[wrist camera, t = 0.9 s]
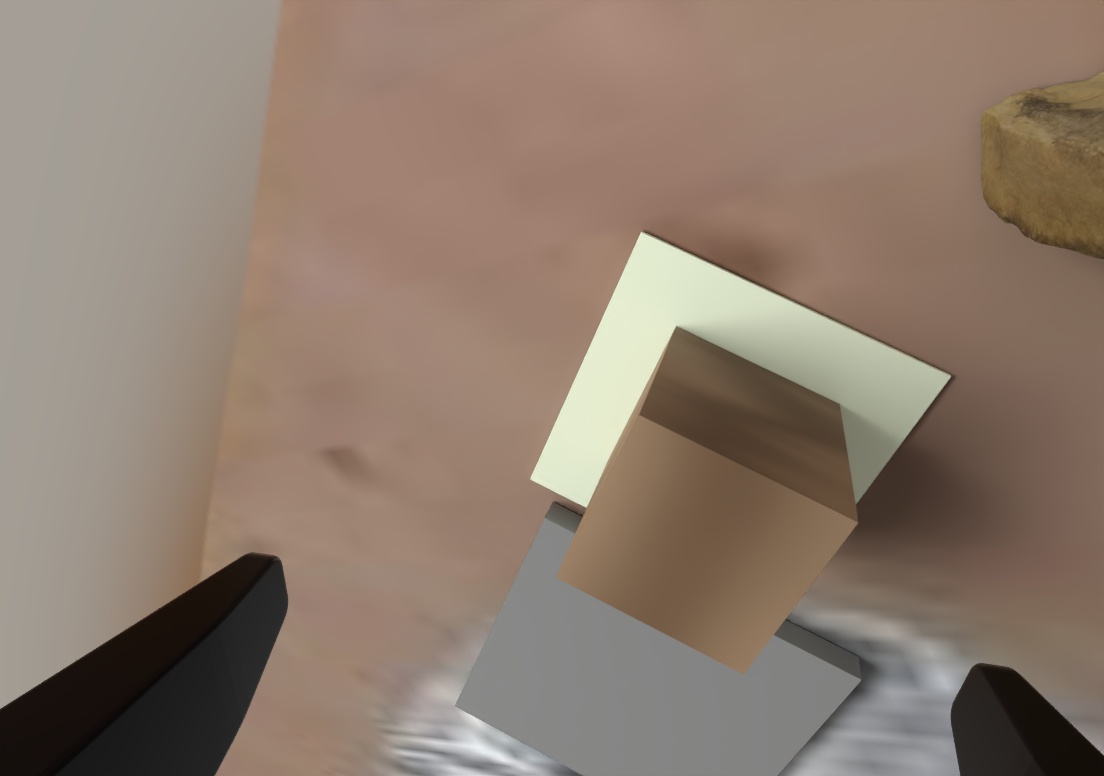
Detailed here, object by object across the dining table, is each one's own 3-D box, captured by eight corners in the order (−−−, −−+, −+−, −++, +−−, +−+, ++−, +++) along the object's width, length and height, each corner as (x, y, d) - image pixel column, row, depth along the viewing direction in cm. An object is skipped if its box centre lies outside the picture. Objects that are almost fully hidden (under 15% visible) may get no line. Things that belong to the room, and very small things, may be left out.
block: (839, 404, 20) (858, 522, 15) (753, 533, 23) (743, 674, 17) (676, 325, 21) (638, 414, 16) (608, 460, 23) (555, 577, 18)
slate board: (858, 657, 24) (861, 680, 23) (716, 822, 28) (714, 846, 27) (553, 501, 25) (544, 517, 24) (464, 686, 29) (454, 705, 28)
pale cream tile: (950, 374, 19) (951, 376, 19) (781, 603, 24) (780, 606, 24) (642, 231, 20) (641, 232, 20) (531, 477, 24) (529, 479, 24)
